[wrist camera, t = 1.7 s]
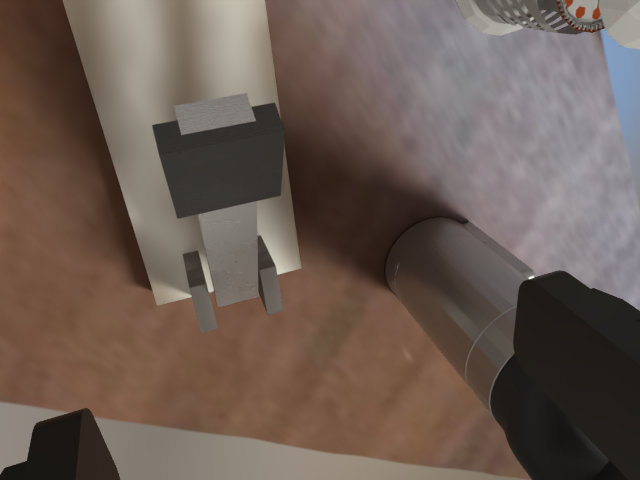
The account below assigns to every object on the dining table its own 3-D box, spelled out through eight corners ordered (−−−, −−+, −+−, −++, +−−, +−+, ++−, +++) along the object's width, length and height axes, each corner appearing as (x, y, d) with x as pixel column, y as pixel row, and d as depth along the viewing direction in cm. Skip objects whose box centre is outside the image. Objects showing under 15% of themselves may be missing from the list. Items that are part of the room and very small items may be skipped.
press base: (250, -55, 35) (276, -57, 29) (294, 257, 46) (319, 300, 41) (56, -33, 32) (40, -30, 26) (156, 292, 44) (160, 344, 38)
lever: (269, 89, 22) (285, 130, 21) (265, 278, 41) (273, 305, 40) (148, 110, 21) (159, 155, 20) (200, 295, 39) (207, 323, 39)
